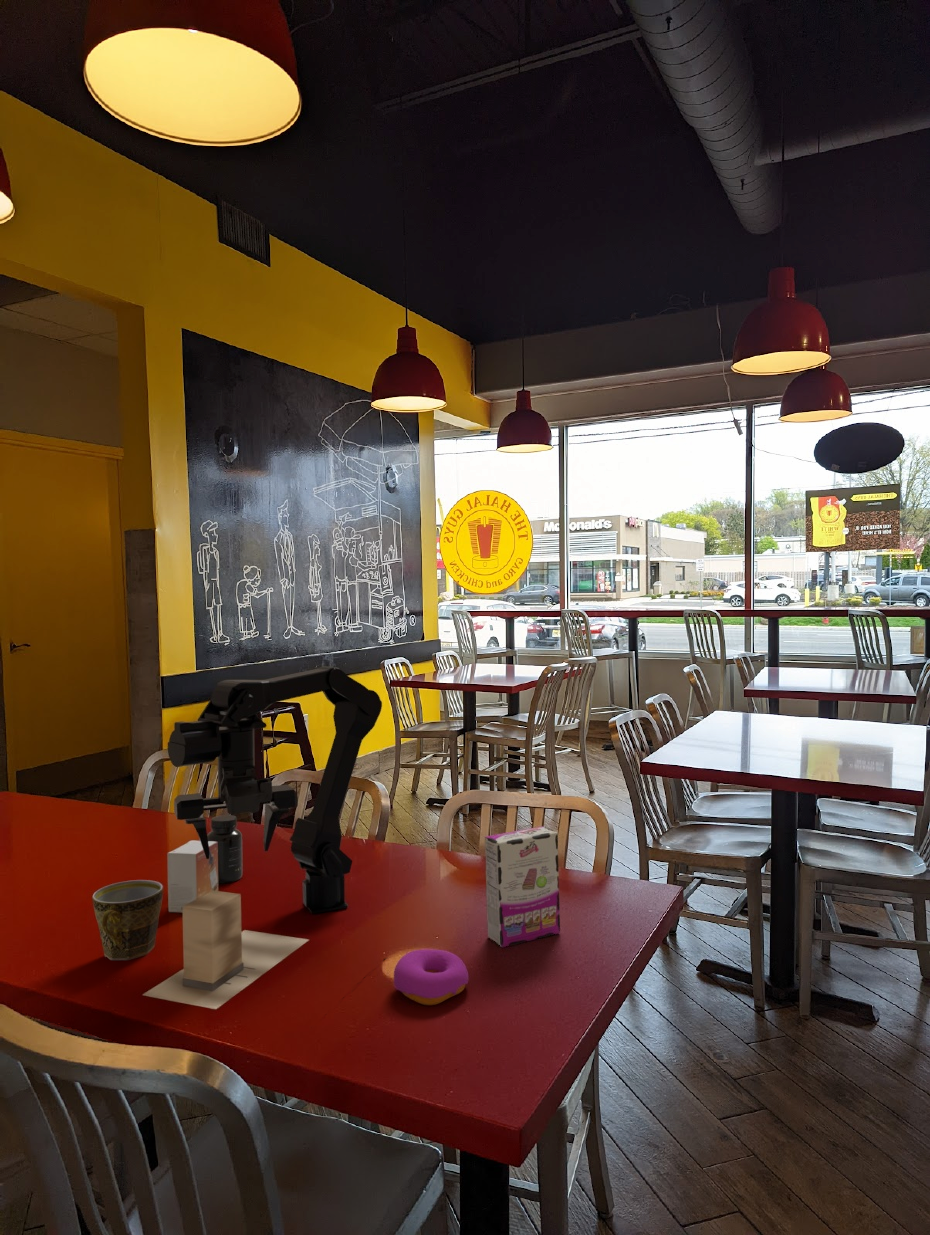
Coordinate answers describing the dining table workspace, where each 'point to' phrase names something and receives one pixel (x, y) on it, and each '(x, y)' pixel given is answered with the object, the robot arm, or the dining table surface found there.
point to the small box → (191, 874)
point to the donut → (430, 975)
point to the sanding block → (212, 940)
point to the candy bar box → (522, 885)
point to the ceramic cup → (128, 917)
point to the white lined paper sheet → (256, 960)
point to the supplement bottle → (227, 847)
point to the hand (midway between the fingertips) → (237, 854)
